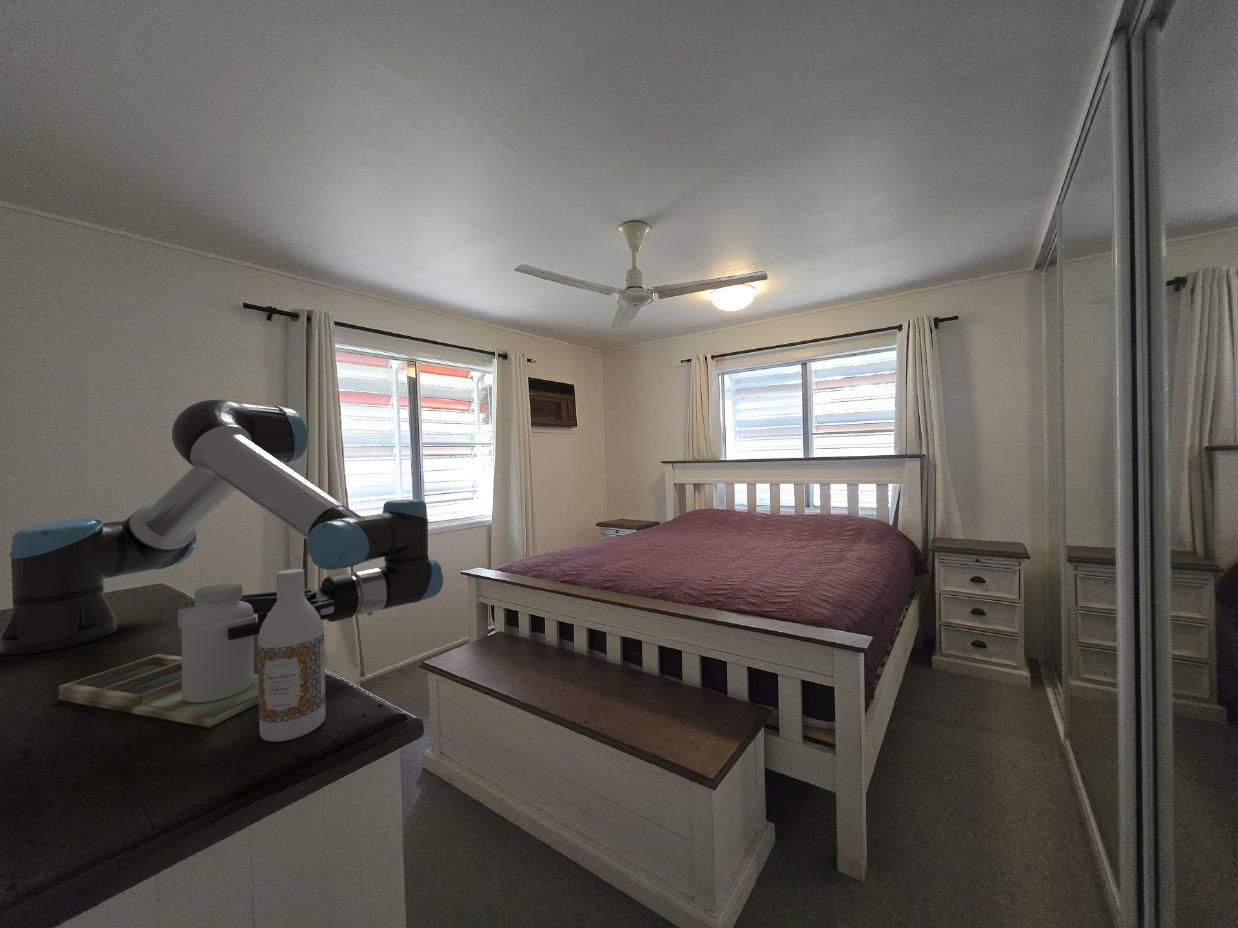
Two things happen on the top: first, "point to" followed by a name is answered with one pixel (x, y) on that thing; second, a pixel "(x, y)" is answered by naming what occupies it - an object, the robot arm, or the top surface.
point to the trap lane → (154, 692)
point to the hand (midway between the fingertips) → (185, 629)
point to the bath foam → (291, 663)
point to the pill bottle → (216, 647)
